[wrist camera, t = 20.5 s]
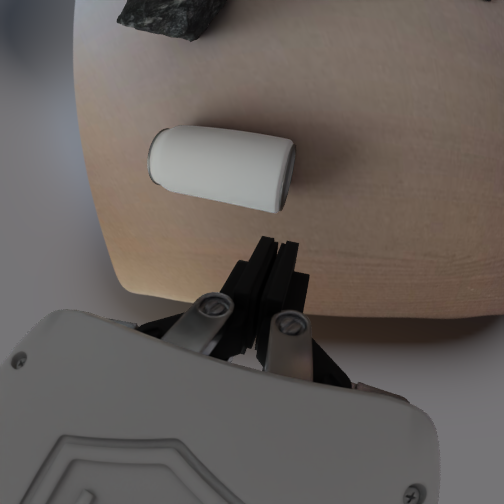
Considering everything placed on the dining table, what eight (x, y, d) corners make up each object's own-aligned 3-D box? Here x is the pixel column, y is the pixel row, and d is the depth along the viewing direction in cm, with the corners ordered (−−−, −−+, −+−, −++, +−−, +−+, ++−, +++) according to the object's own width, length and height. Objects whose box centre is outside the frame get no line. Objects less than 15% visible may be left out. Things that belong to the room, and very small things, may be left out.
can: (299, 129, 22) (177, 114, 24) (285, 163, 18) (138, 142, 19) (290, 187, 27) (183, 167, 28) (276, 230, 22) (152, 202, 24)
